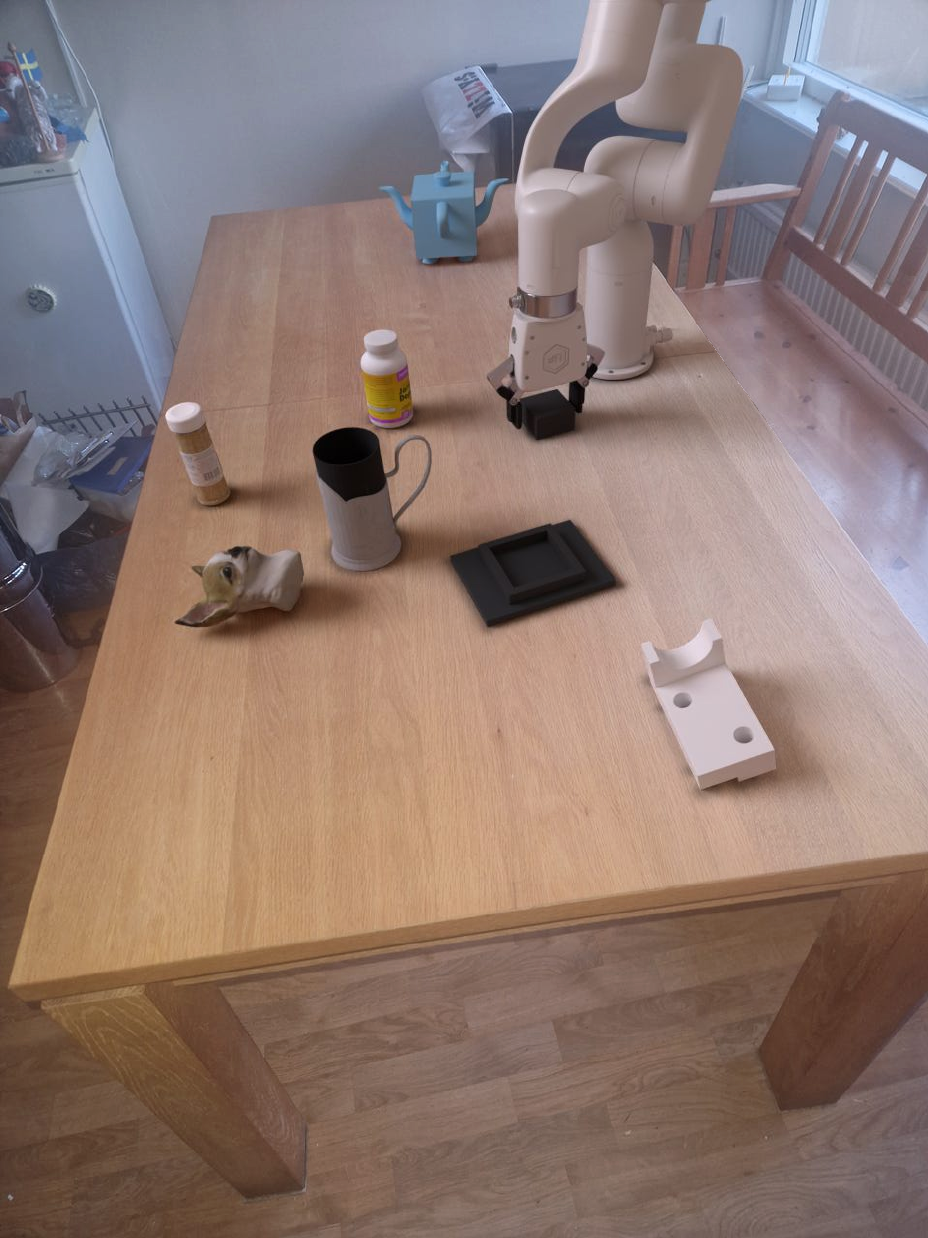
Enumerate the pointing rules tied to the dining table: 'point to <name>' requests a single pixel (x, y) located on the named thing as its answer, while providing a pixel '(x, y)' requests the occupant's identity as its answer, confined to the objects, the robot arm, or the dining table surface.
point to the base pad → (530, 571)
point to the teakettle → (444, 213)
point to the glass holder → (360, 497)
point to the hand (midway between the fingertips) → (545, 416)
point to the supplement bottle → (386, 380)
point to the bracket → (708, 710)
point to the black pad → (547, 414)
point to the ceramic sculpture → (245, 584)
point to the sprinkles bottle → (198, 452)
